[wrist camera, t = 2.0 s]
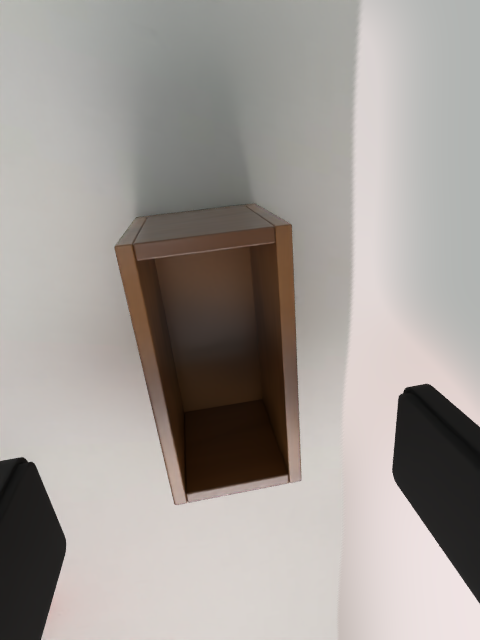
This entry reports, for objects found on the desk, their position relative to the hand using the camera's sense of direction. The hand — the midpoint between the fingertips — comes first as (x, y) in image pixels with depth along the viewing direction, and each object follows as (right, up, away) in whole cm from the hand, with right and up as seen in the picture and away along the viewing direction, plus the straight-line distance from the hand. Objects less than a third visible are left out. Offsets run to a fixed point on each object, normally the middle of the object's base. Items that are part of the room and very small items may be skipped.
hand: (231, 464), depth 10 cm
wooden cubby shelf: (-1, +4, +8) cm, 9 cm away
